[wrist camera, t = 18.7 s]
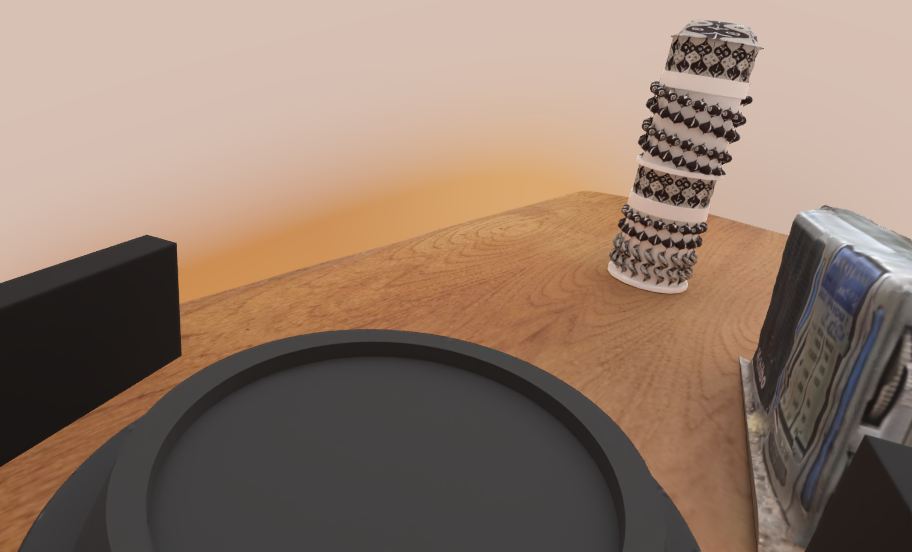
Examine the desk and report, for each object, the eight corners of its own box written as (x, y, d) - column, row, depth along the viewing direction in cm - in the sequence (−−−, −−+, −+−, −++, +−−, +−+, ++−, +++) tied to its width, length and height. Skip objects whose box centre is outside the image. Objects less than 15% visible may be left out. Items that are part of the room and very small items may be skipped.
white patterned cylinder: (615, 254, 67) (676, 23, 57) (696, 278, 63) (777, 35, 54) (592, 274, 59) (659, 12, 50) (683, 303, 55) (774, 25, 46)
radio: (739, 355, 47) (807, 176, 41) (861, 396, 43) (953, 206, 37) (706, 543, 27) (826, 251, 22) (923, 645, 24) (1134, 328, 18)
